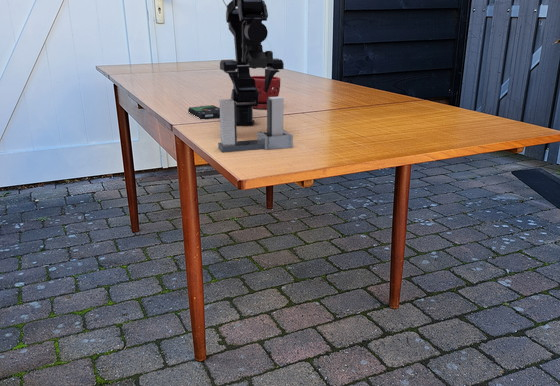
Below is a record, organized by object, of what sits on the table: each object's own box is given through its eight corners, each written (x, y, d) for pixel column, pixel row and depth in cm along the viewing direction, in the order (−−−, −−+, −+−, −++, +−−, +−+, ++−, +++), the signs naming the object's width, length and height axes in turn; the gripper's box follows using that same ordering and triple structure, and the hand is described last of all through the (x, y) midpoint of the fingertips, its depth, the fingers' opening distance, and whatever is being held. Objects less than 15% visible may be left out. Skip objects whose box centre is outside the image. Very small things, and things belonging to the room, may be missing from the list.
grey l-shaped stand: (217, 146, 155) (215, 98, 151) (284, 141, 162) (284, 94, 157) (223, 153, 149) (222, 102, 144) (292, 147, 155) (293, 99, 151)
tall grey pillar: (266, 139, 158) (266, 97, 153) (279, 138, 159) (279, 96, 155) (270, 142, 155) (270, 98, 151) (283, 141, 156) (283, 98, 152)
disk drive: (228, 119, 196) (213, 111, 208) (228, 111, 195) (213, 104, 207) (201, 121, 191) (187, 113, 204) (201, 113, 190) (187, 106, 203)
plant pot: (276, 110, 208) (276, 79, 204) (243, 109, 211) (243, 78, 207) (283, 105, 220) (283, 75, 216) (252, 103, 223) (251, 74, 219)
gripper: (227, 43, 151) (229, 98, 156) (290, 42, 157) (289, 95, 162) (218, 40, 160) (220, 93, 166) (277, 39, 166) (277, 90, 172)
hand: (252, 93), depth 166 cm, fingers open, 9 cm apart
